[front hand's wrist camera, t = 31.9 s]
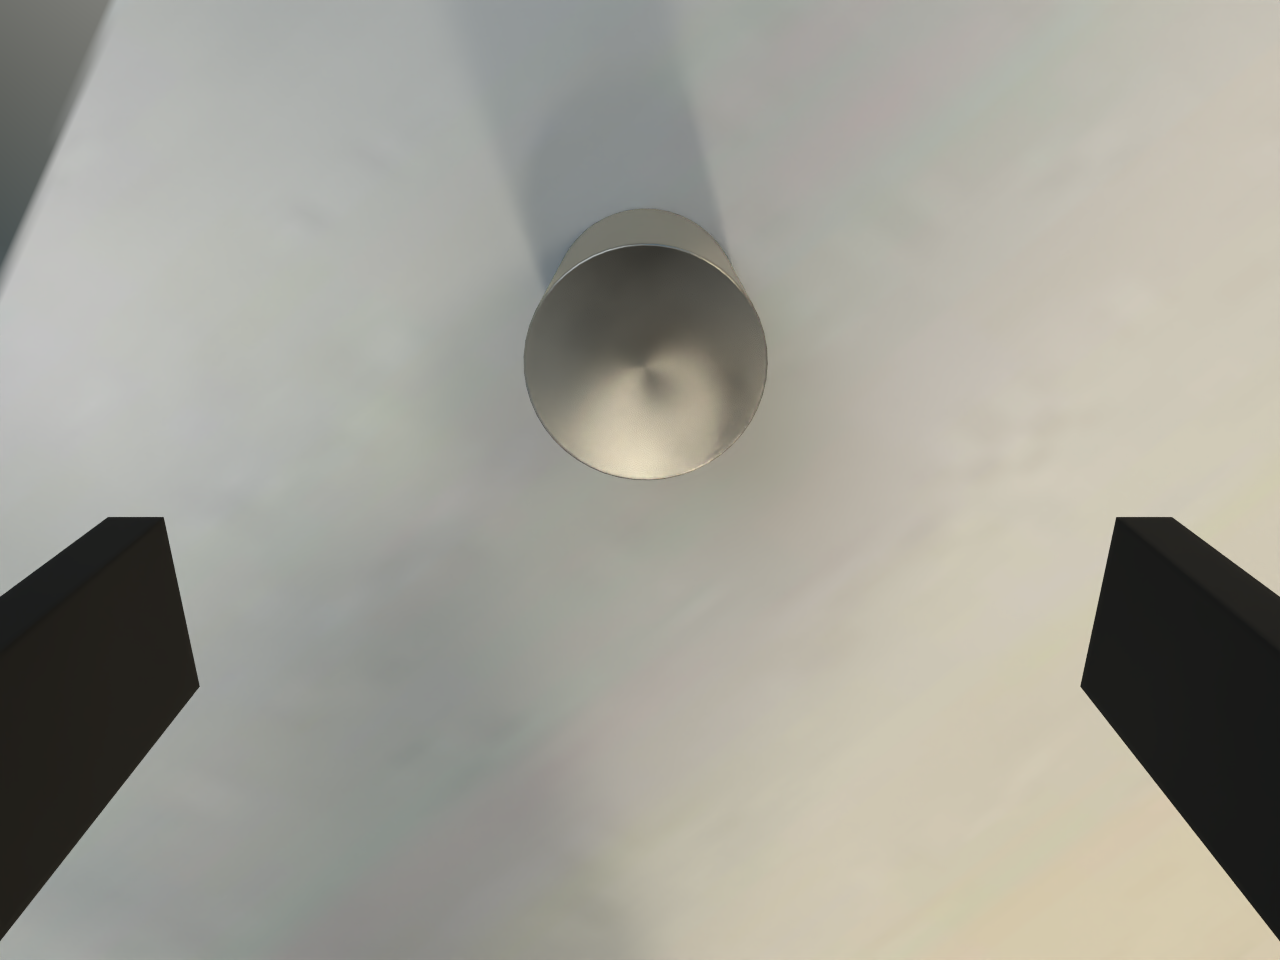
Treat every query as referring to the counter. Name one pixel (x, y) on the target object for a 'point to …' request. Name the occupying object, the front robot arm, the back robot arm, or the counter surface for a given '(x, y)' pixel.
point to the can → (645, 348)
